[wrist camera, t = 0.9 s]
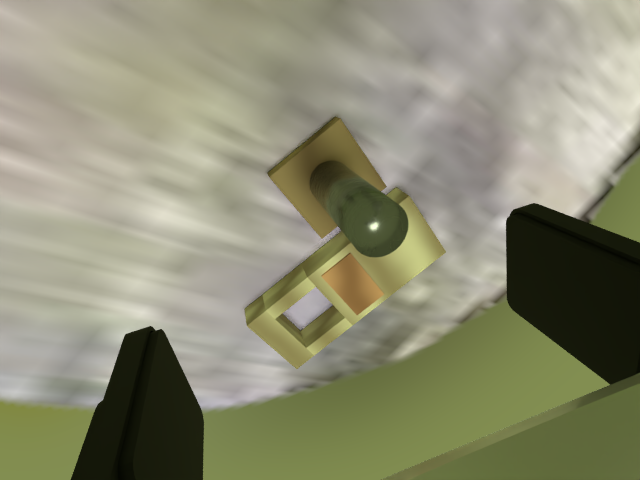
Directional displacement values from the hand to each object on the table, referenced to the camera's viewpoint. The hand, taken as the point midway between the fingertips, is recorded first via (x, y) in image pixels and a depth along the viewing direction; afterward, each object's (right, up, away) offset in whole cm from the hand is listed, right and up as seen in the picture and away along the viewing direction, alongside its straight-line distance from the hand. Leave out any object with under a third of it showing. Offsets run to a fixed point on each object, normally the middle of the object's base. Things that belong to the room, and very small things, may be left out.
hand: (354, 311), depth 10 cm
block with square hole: (+1, -2, +32) cm, 32 cm away
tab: (0, +8, +27) cm, 28 cm away
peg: (0, +7, +26) cm, 27 cm away
